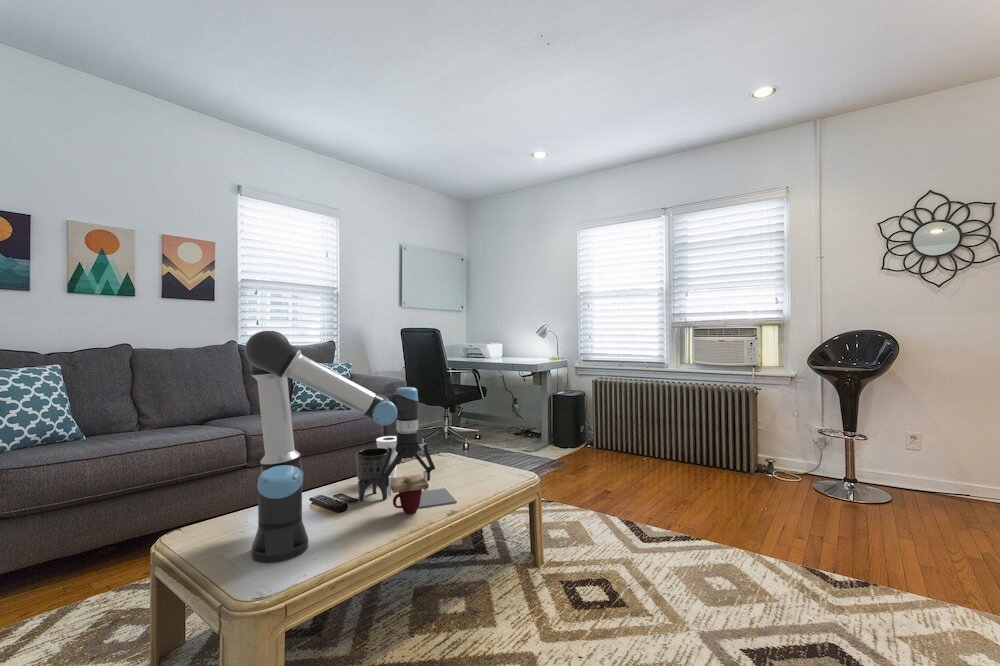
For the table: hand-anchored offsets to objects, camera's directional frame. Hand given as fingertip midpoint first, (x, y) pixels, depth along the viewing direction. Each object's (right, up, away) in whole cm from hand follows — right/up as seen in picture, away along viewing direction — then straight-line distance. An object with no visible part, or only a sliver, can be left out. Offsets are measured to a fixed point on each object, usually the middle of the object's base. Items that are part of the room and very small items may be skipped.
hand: (407, 492), depth 163 cm
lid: (0, +3, 0) cm, 3 cm away
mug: (0, -8, 0) cm, 8 cm away
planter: (-16, -8, +16) cm, 24 cm away
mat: (+7, -7, +15) cm, 18 cm away
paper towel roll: (-15, -8, +37) cm, 41 cm away
